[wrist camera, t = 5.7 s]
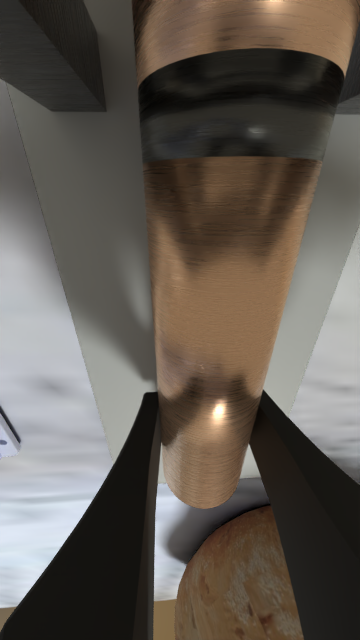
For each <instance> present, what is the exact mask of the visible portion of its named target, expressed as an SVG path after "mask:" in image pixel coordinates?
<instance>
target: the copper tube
mask: <svg viewBox="0 0 360 640" xmlns="http://www.w3.org/2000/svg"><path fill="white" fill-rule="evenodd" d="M132 15H133V30H134V45H135V60H136V74H137V89H138V104H139V119H140V134H141V149H142V163H143V178H144V193H145V208H146V223H147V238H148V253H149V267H150V282H151V297H152V312H153V327H154V342H155V356H156V371H157V386H158V401H159V415H160V430H161V445H162V460H163V472H164V477H165V480H166V482H167V484H168V486H169V488H170V489H171V491H172V492H173V493H174V495H175V496H176V497H177V498H178V499H180V500H181V501H182V502H184V503H185V504H188V505H190V506H192V507H196V508H202V509H207V508H214V507H216V506H219V505H221V504H223V503H224V502H226V501H227V500H228V499H229V498H230V497H231V496H232V495H233V493H234V492H235V490H236V488H237V486H238V482H239V479H240V475H241V471H242V467H243V464H244V460H245V456H246V452H247V448H248V445H249V441H250V437H251V433H252V429H253V425H254V422H255V418H256V414H257V410H258V406H259V403H260V399H261V395H262V391H263V387H264V384H265V380H266V376H267V372H268V368H269V365H270V361H271V357H272V353H273V349H274V346H275V342H276V338H277V334H278V330H279V327H280V323H281V319H282V315H283V311H284V307H285V304H286V300H287V296H288V292H289V288H290V285H291V281H292V277H293V273H294V269H295V266H296V262H297V258H298V254H299V250H300V247H301V243H302V239H303V235H304V231H305V228H306V224H307V220H308V216H309V212H310V209H311V205H312V201H313V197H314V193H315V189H316V186H317V182H318V178H319V174H320V170H321V167H322V163H323V159H324V155H325V151H326V148H327V144H328V140H329V136H330V132H331V129H332V125H333V121H334V117H335V113H336V110H337V106H338V102H339V98H340V94H341V91H342V87H343V83H344V79H345V75H346V71H347V68H348V64H349V60H350V56H351V52H352V49H353V45H354V41H355V37H356V33H357V30H358V26H359V22H360V0H132Z"/></svg>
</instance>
